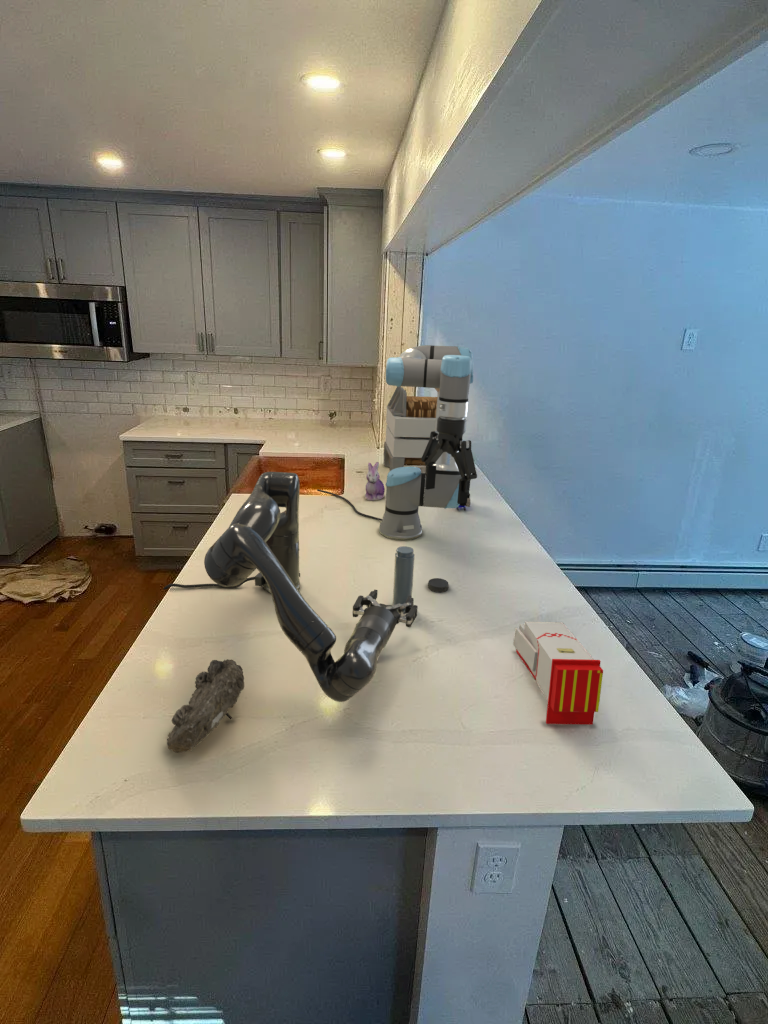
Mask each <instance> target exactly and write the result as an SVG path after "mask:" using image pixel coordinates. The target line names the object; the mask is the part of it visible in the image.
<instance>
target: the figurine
mask: <svg viewBox="0 0 768 1024" xmlns="http://www.w3.org/2000/svg"><path fill="white" fill-rule="evenodd" d="M379 465H380V463H379V461H376V462H375V463H374V465H372V463H371V462H368V463H367V468H368V469H367V473H366V475H365V478H366V480H367V482H366V484H365V494H364V498H365V499H366V500H367V501H377V500H382V499H384V497H385V493H386V488H385V484H384V482H383V481H382V480H381V479H380V478H381V475H380V473H379V471H378V469H379Z"/></svg>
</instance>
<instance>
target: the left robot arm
mask: <svg viewBox="0 0 768 1024" xmlns="http://www.w3.org/2000/svg"><path fill="white" fill-rule="evenodd" d="M300 488H301V484H300V478H299V475H298V474H297V473H295V472H286V471H265V472H263V473H261V475H260V476H259V477H258V479H257V480H256V483H255V485H254V487H253V489H252V491H251V493H250V495H249V496H248V498H247V499H246V500H245V501H244V502H243V503H242V505H241V506H240V508H239V509H238V510H237V512H236V514H235V515H234V517H233V519H232V520H231V523H230V524H229V526H228V527H227V529H226V530H225V531H224V532H223V533H222V534H221V535H220V536H219V537H218V538H217V540H216V541H214V542H213V544H212V545H211V546H210V547H209V549H207V552H206V553H205V555H204V560H203V563H204V569H205V572H206V574H207V576H208V578H210V580H211V581H213V582H214V583H201V584H200V583H198V584H196V583H195V584H181V583H169V584H166V585H165V586H164V587H163V590H168V589H169V588H173V587H175V588H181V589H182V588H183V589H194V588H212V587H213V588H223V589H236V588H240V587H241V586H243V584H245V583H246V582H247V583H248V582H249V581H254V586H256V587H262V590H266V591H267V592H269V593H270V595H271V599H272V602H273V606H274V610H275V611H274V612H275V614H276V618H277V622H278V624H279V627H280V629H281V631H282V632H283V634H284V636H286V638H287V639H288V640H289V641H290V642H291V643H292V645H293V646H294V647H295V648H296V649H297V650H298V651H299V652H300V653H301V655H302V656H304V658H305V660H306V661H307V663H308V666H309V669H310V670H311V671H312V674H313V676H314V677H315V680H316V681H317V683H318V685H319V687H320V689H321V690H322V692H323V693H324V694H325V696H327V697H328V698H329V699H331V700H332V701H335V702H337V703H346V702H347V701H349V700H351V699H352V698H354V696H355V695H356V694H358V693H360V691H362V690H363V689H364V688H365V687H366V686H368V684H370V682H371V681H372V680H373V679H374V677H375V675H376V672H377V667H378V659H379V657H380V655H381V653H382V651H383V650H384V649H385V647H386V646H387V644H388V642H389V640H390V638H391V636H392V634H393V632H394V630H395V628H396V625H399V624H400V623H401V624H405V627H406V628H411V627H412V625H414V622H415V621H416V619H417V617H418V609H419V606H418V605H417V604H414V603H415V601H414V600H415V599H414V598H413V595H412V596H408V598H407V600H406V602H405V603H404V604H400V603H399V604H396V605H393V606H392V604H385V603H378V601H377V599H378V589H373V590H371V591H370V592H369V594H368V595H366V597H365V596H364V595H358V597H357V598H356V600H355V602H354V603H353V605H352V617H353V618H358V617H359V616H361V617H360V618H359V620H358V622H357V623H355V627H354V628H353V630H352V633H351V635H350V637H349V638H348V640H347V642H346V644H345V645H344V649H343V655H341V656H340V657H339V658H338V659H337V660H336V661H335V659H334V657H333V655H332V652H331V650H332V649H333V647H334V646H335V644H336V642H337V635H336V633H335V632H334V631H333V629H331V628H330V627H329V625H328V624H327V623H326V622H325V621H324V620H323V619H322V618H321V617H320V615H319V614H318V613H317V612H316V611H315V610H314V609H313V608H312V607H311V606H310V604H309V603H308V602H307V601H306V599H305V598H304V596H303V595H302V594H301V592H300V591H299V589H300V586H301V585H300V583H301V582H300V578H301V573H300V523H299V522H300V494H301V493H300V492H301V489H300ZM280 508H285V510H284V511H282V512H281V509H280ZM256 570H257V571H258V573H257V574H256V575H255V576H251V575H252V574H253V573H254V572H255V571H256ZM364 606H366V608H363V607H364ZM404 608H405V611H403V610H404ZM397 609H398V611H397Z"/></svg>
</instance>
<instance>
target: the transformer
mask: <svg viewBox="0 0 768 1024" xmlns="http://www.w3.org/2000/svg"><path fill="white" fill-rule="evenodd" d="M407 394H408V393H407V390H406V389H404V388H403V386H400V387H397V386H396V388H395V390H394V392H393V394H392V395H391V398H390V400H389V402H388V404H387V405H386V413H385V414H386V415H385V423H386V428H385V438H384V442H383V466H384V467H388V468H389V472H390V471H391V470H393V469H395V468H399V467H405V466H406V467H408V466H411V467H417V466H418V467H426V465H425V462H422V461H421V458H422V456H423V453H424V451H425V449H426V446H427V444H428V442H429V439H430V434H431V432H432V431H435V422H436V408H437V396H415V395H414V396H413V395H412V396H411V395H407ZM462 438H463V439H464V435H463V436H462Z"/></svg>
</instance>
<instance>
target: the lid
mask: <svg viewBox="0 0 768 1024" xmlns="http://www.w3.org/2000/svg"><path fill="white" fill-rule="evenodd" d="M449 587H450V584H449V581H448V580H446V579H444V578H441V577H433V578H430V579H429V580H428V582H427V588H428V590H429V591H432V592H435V593H444V592H447V591H448V590H449Z"/></svg>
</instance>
